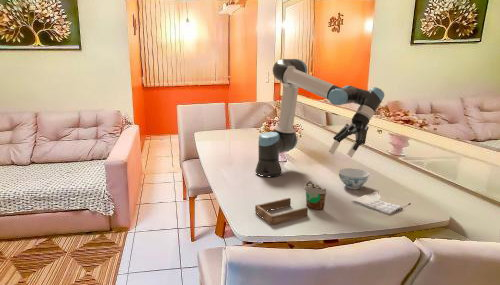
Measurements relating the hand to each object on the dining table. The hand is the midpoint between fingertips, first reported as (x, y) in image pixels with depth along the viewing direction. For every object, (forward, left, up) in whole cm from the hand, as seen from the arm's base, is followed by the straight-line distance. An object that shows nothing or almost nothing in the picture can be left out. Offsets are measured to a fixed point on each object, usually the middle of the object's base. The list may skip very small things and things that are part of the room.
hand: (339, 154), depth 158 cm
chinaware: (-7, +17, -21) cm, 28 cm away
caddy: (+3, -34, -21) cm, 40 cm away
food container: (+3, -18, -21) cm, 28 cm away
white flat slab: (+15, +13, -22) cm, 30 cm away
